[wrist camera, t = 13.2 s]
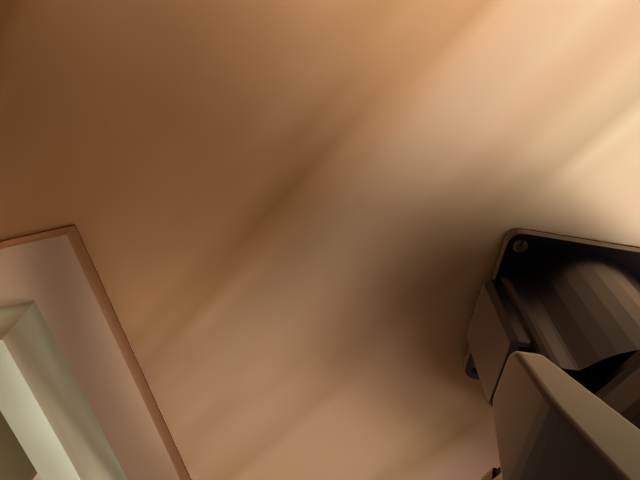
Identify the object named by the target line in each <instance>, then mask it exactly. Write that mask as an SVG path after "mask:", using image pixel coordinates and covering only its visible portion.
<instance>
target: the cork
mask: <svg viewBox="0 0 640 480" xmlns="http://www.w3.org/2000/svg"><path fill="white" fill-rule="evenodd" d="M36 475H37V471H36V469H35V468H34V466H33V464H32V463H31V461H30V459H29V458H28V456H27V454H26V453H25V451H24V449H23V448H22V446H21V444H20V443H19V441H18V439H17V438H16V436H15V434H14V433H13V431H12V429H11V428H10V426H9V424H8V423H7V421H6V419H5V418H4V416H3V414H2V413H1V411H0V480H33V478H34V477H35V476H36Z"/></svg>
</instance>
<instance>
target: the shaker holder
mask: <svg viewBox="0 0 640 480" xmlns="http://www.w3.org/2000/svg"><path fill="white" fill-rule="evenodd" d="M0 411H1V413H2V414H3V416H4V418H5V419H6V421H7V423H8V424H9V426H10V428H11V429H12V431H13V433H14V434H15V436H16V438H17V439H18V441H19V443H20V444H21V446H22V448H23V449H24V451H25V453H26V454H27V456H28V458H29V459H30V461H31V463H32V464H33V466H34V468H35V469H36V471H37V475H36V476H35V477H34V478H33V480H191V479H190V477H189V475H188V472H187V470H186V468H185V466H184V464H183V461H182V459H181V457H180V455H179V453H178V450H177V448H176V446H175V444H174V442H173V439H172V437H171V435H170V433H169V431H168V428H167V426H166V424H165V422H164V420H163V417H162V415H161V413H160V411H159V409H158V406H157V404H156V402H155V400H154V398H153V395H152V393H151V391H150V389H149V387H148V384H147V382H146V380H145V378H144V376H143V373H142V371H141V369H140V367H139V365H138V362H137V360H136V358H135V356H134V354H133V351H132V349H131V347H130V345H129V343H128V341H127V338H126V336H125V334H124V332H123V330H122V327H121V325H120V323H119V321H118V319H117V316H116V314H115V312H114V310H113V308H112V305H111V303H110V301H109V299H108V297H107V294H106V292H105V290H104V288H103V286H102V283H101V281H100V279H99V277H98V275H97V272H96V270H95V268H94V266H93V264H92V261H91V259H90V257H89V255H88V253H87V250H86V248H85V246H84V244H83V242H82V239H81V237H80V235H79V233H78V231H77V228H76V226H75V225H74V226H69V227H65V228H60V229H56V230H51V231H47V232H42V233H38V234H33V235H29V236H24V237H20V238H15V239H11V240H6V241H2V242H0Z"/></svg>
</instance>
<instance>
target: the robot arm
mask: <svg viewBox="0 0 640 480" xmlns="http://www.w3.org/2000/svg"><path fill="white" fill-rule="evenodd" d="M518 240H524V241H525V242H524V244H523V245H522V246H521V247H518V248H515V247H513V245H514V244H515V242H517V241H518ZM466 339H467V342H468V345H469V346H468V349H467V352H466V355H465V358H464V363H463V365H464V369H465V372H466V374H467V375H468V376H469V377H470V378H473V379H478V380H480V381H481V384H482V387H483V390H484V393H485V396H486V399H487V402H488V404H489V405H490V406H491V408H492V409H493V415H494V423H495V430H496V438H497V445H498V452H499V460H500V467H499V468H498V469H497V468H493V469H492V470H490V471H489V472H488V473H487V474H486V475H484V476H483V477H482V479H481V480H640V248H635V247H629V246H623V245H617V244H611V243H605V242H599V241H592V240H586V239H580V238H574V237H568V236H562V235H556V234H549V233H543V232H537V231H531V230H525V229H515V230H513V231H511V232H509V233H508V234H507V235H506V237H505V239H504V241H503V244H502V247H501V250H500V253H499V256H498V259H497V262H496V265H495V268H494V271H493V274H492V277H491V279H488V280H487V281H485V282H484V283H483V284H482V287H481V290H480V293H479V296H478V299H477V302H476V305H475V308H474V312H473V315H472V318H471V321H470V324H469V327H468V330H467V333H466ZM473 365H475V366H476V368H473Z"/></svg>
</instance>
